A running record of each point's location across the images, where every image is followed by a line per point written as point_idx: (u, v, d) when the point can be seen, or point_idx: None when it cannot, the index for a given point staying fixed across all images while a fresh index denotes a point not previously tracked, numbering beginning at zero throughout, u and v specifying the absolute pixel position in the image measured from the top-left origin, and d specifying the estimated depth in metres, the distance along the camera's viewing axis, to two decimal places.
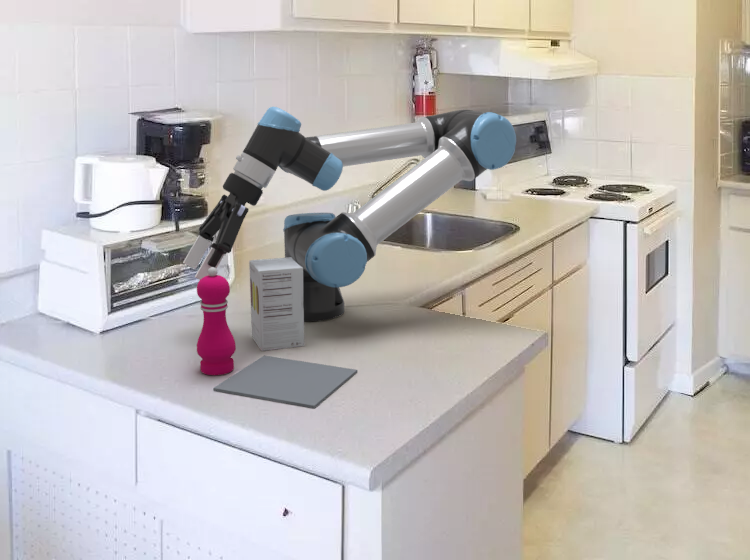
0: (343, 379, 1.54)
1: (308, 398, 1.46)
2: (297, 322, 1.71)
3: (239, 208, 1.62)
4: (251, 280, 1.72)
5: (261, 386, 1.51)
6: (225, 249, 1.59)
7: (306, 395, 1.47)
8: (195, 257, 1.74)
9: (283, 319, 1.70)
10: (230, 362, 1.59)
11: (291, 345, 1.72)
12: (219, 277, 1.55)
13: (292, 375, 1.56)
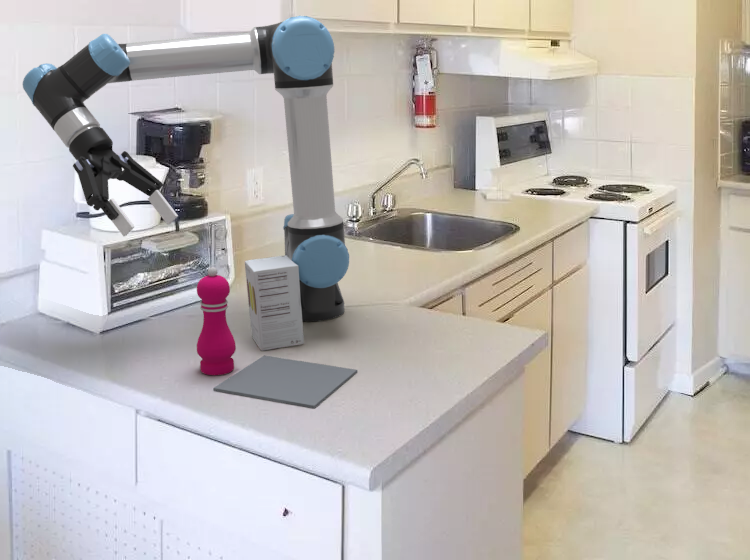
0: (343, 379, 1.54)
1: (308, 398, 1.46)
2: (296, 320, 1.71)
3: (76, 166, 1.54)
4: (247, 280, 1.72)
5: (261, 386, 1.51)
6: (92, 200, 1.50)
7: (306, 395, 1.47)
8: (165, 211, 1.65)
9: (281, 318, 1.69)
10: (230, 362, 1.59)
11: (290, 343, 1.72)
12: (219, 277, 1.55)
13: (292, 375, 1.56)
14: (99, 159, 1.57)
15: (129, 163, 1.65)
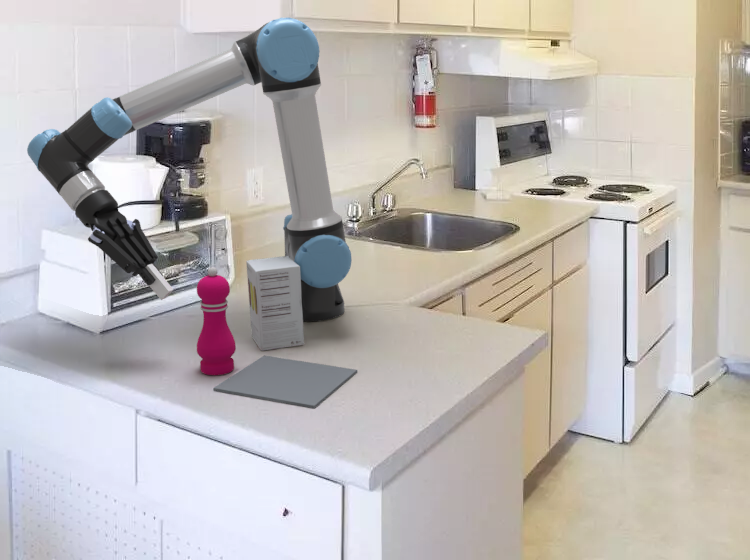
0: (343, 379, 1.54)
1: (308, 398, 1.46)
2: (296, 321, 1.71)
3: (93, 240, 1.56)
4: (249, 280, 1.72)
5: (261, 386, 1.51)
6: (130, 267, 1.57)
7: (306, 395, 1.47)
8: None
9: (282, 318, 1.69)
10: (230, 362, 1.59)
11: (290, 344, 1.72)
12: (219, 277, 1.55)
13: (292, 375, 1.56)
14: (102, 219, 1.59)
15: (134, 229, 1.64)
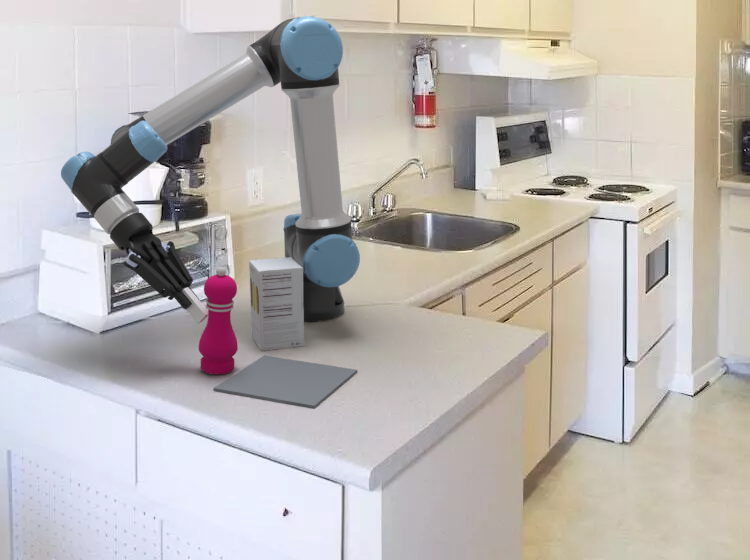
0: (343, 379, 1.54)
1: (308, 398, 1.46)
2: (297, 322, 1.71)
3: (129, 264, 1.54)
4: (251, 280, 1.72)
5: (261, 386, 1.51)
6: (166, 291, 1.55)
7: (306, 395, 1.47)
8: None
9: (283, 319, 1.70)
10: (231, 362, 1.59)
11: (291, 345, 1.72)
12: (227, 277, 1.54)
13: (292, 375, 1.56)
14: (137, 243, 1.57)
15: (169, 252, 1.62)
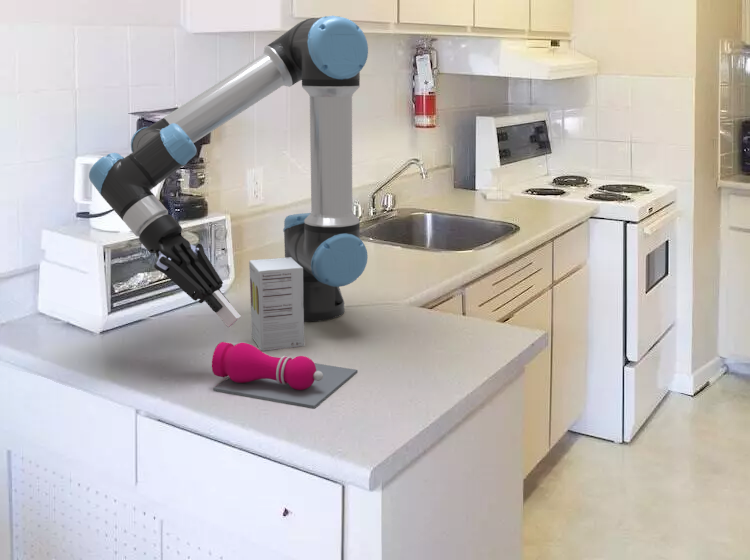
0: (343, 379, 1.54)
1: (308, 398, 1.46)
2: (297, 322, 1.71)
3: (159, 267, 1.52)
4: (251, 280, 1.72)
5: (261, 386, 1.51)
6: (197, 294, 1.53)
7: (306, 395, 1.47)
8: None
9: (283, 319, 1.70)
10: None
11: (291, 345, 1.72)
12: None
13: None
14: (167, 245, 1.55)
15: (198, 254, 1.60)
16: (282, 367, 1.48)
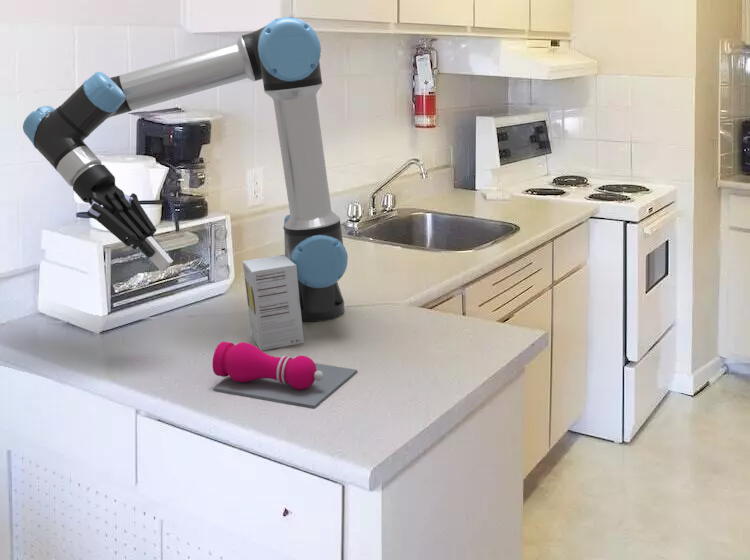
0: (343, 379, 1.54)
1: (308, 398, 1.46)
2: (295, 319, 1.71)
3: (92, 214, 1.57)
4: (246, 281, 1.72)
5: (261, 386, 1.51)
6: (130, 240, 1.58)
7: (306, 395, 1.47)
8: None
9: (280, 317, 1.69)
10: None
11: (290, 343, 1.72)
12: None
13: None
14: (100, 193, 1.60)
15: (132, 203, 1.66)
16: (283, 366, 1.48)
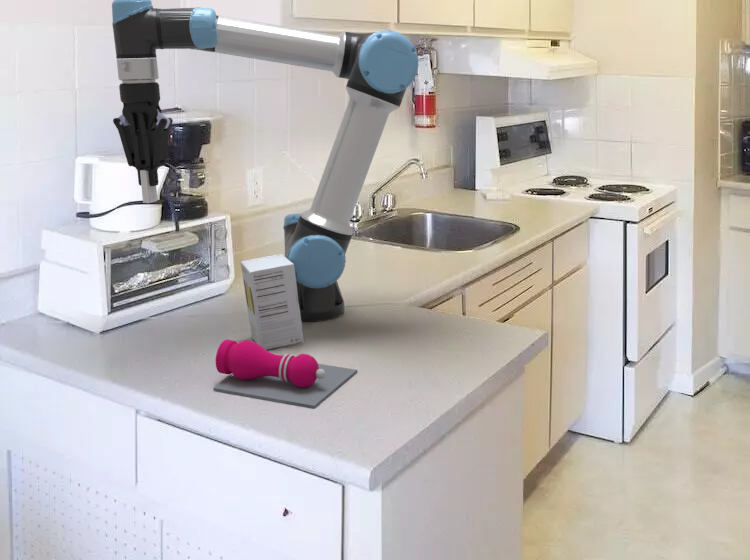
0: (343, 379, 1.54)
1: (308, 398, 1.46)
2: (294, 318, 1.71)
3: (166, 124, 1.63)
4: (244, 281, 1.72)
5: (261, 386, 1.51)
6: (162, 164, 1.67)
7: (306, 395, 1.47)
8: None
9: (280, 317, 1.69)
10: None
11: (290, 342, 1.72)
12: None
13: None
14: None
15: (128, 127, 1.69)
16: (286, 360, 1.49)
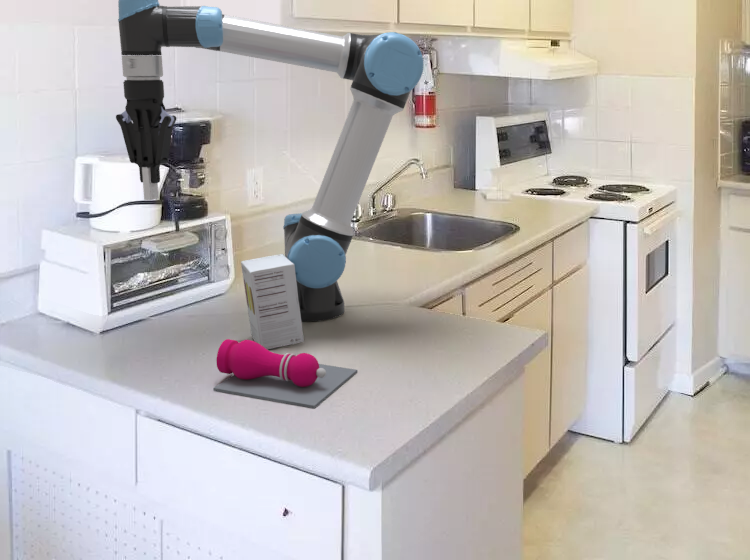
0: (343, 379, 1.54)
1: (308, 398, 1.46)
2: (294, 319, 1.71)
3: (170, 122, 1.64)
4: (244, 281, 1.72)
5: (261, 386, 1.51)
6: (164, 161, 1.67)
7: (306, 395, 1.47)
8: None
9: (280, 317, 1.69)
10: None
11: (290, 342, 1.72)
12: None
13: None
14: None
15: (131, 123, 1.69)
16: (287, 358, 1.50)
